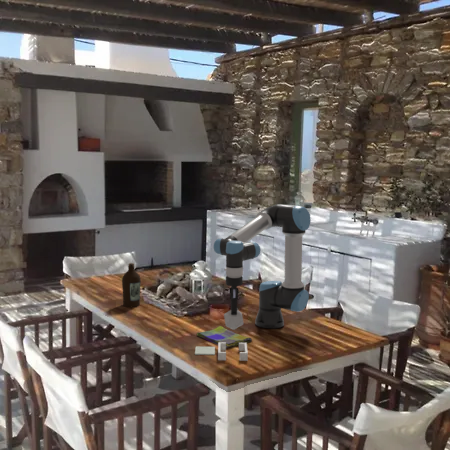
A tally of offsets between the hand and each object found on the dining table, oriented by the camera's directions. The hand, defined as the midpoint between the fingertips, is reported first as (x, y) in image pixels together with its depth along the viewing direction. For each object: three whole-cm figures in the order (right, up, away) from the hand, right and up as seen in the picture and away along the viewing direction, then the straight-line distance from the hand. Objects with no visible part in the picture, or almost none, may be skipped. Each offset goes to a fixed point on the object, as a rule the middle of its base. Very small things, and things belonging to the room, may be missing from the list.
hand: (233, 326), depth 254 cm
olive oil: (-58, -2, +75) cm, 95 cm away
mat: (-13, -12, +5) cm, 19 cm away
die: (0, -1, -2) cm, 2 cm away
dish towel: (-4, -11, +23) cm, 26 cm away
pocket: (0, -13, +2) cm, 13 cm away
